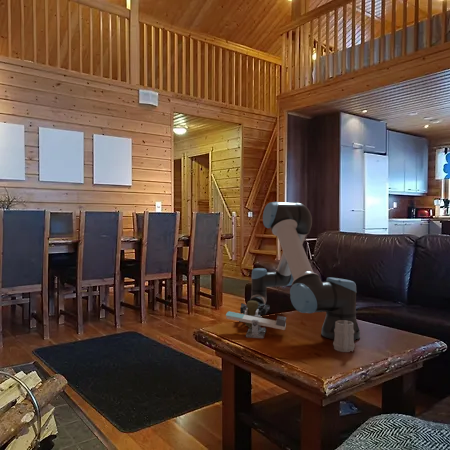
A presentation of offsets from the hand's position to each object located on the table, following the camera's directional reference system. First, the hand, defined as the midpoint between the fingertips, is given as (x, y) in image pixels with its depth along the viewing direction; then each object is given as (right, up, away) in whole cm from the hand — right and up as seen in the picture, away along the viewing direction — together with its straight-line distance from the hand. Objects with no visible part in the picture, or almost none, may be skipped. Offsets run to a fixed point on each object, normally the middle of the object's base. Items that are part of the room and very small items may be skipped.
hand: (250, 315), depth 181 cm
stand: (+2, -6, -7) cm, 9 cm away
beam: (+2, -1, -7) cm, 7 cm away
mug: (+32, -7, -28) cm, 43 cm away
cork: (+1, -6, +5) cm, 8 cm away
